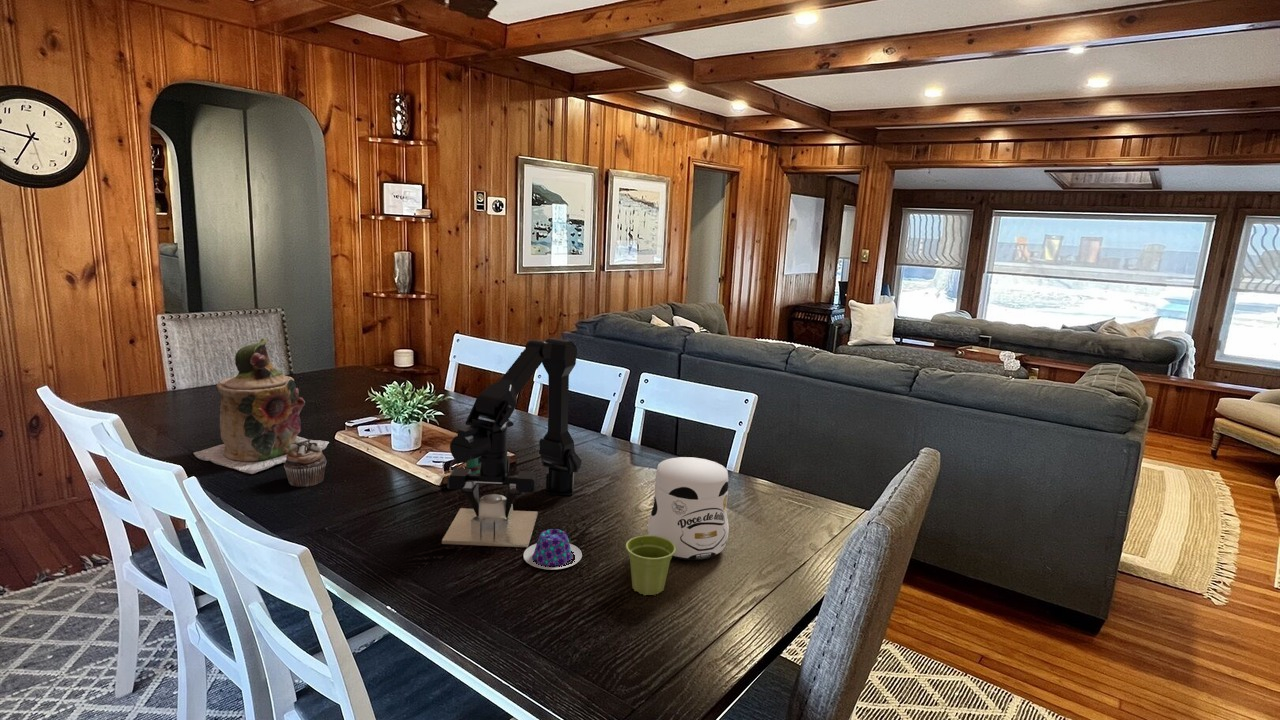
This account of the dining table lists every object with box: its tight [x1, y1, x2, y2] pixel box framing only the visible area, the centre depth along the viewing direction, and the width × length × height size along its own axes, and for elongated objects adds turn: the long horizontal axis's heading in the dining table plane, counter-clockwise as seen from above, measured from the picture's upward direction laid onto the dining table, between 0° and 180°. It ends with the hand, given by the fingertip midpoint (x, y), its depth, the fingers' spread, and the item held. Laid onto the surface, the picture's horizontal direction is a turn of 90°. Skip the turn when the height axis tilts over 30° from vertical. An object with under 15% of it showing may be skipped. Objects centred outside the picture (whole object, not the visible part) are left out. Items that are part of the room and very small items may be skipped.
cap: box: [479, 493, 507, 519], centre depth 147 cm, size 6×6×6 cm
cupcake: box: [283, 439, 328, 488], centre depth 167 cm, size 10×10×10 cm
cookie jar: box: [193, 337, 330, 475], centre depth 181 cm, size 25×25×32 cm
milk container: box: [647, 456, 730, 561], centre depth 143 cm, size 17×17×18 cm
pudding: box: [523, 528, 583, 570], centre depth 137 cm, size 12×12×5 cm
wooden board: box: [441, 504, 539, 548], centre depth 148 cm, size 18×16×4 cm
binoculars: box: [449, 458, 480, 475], centre depth 175 cm, size 9×11×10 cm
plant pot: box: [625, 534, 676, 596], centre depth 127 cm, size 9×9×9 cm
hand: (492, 516), depth 148 cm, fingers closed on cap, 6 cm apart
